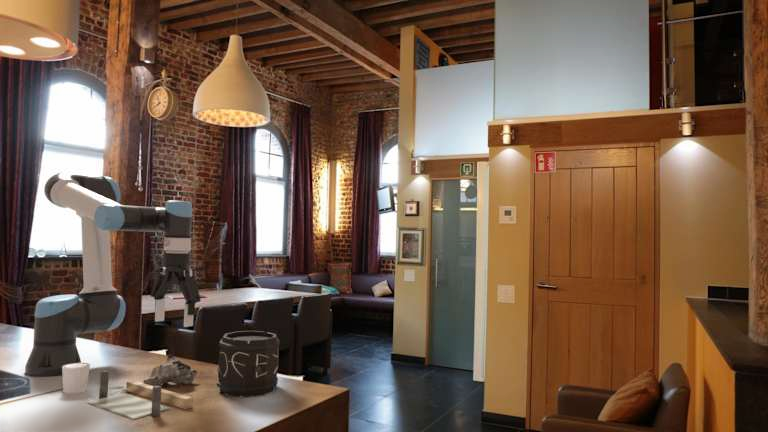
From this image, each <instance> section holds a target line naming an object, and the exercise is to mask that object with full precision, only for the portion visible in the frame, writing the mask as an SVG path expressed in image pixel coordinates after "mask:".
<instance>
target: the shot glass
mask: <svg viewBox="0 0 768 432" xmlns="http://www.w3.org/2000/svg"><path fill="white" fill-rule="evenodd" d="M90 367H91V364H90V363H88V362H81V363H71V364H66V365H63V366H62V374H61V376H62V391H63V393H65V394H77V393H83V392H85V391H86V390H87V387H88V381H89V375H90V374H89V373H90Z"/></svg>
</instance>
